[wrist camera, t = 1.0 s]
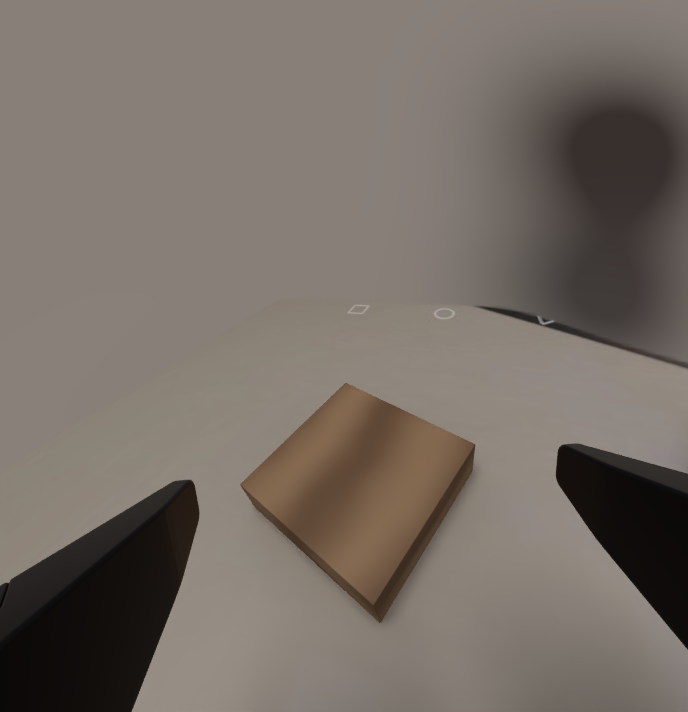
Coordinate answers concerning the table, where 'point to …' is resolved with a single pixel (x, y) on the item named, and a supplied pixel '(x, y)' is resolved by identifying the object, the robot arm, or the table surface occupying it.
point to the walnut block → (362, 491)
